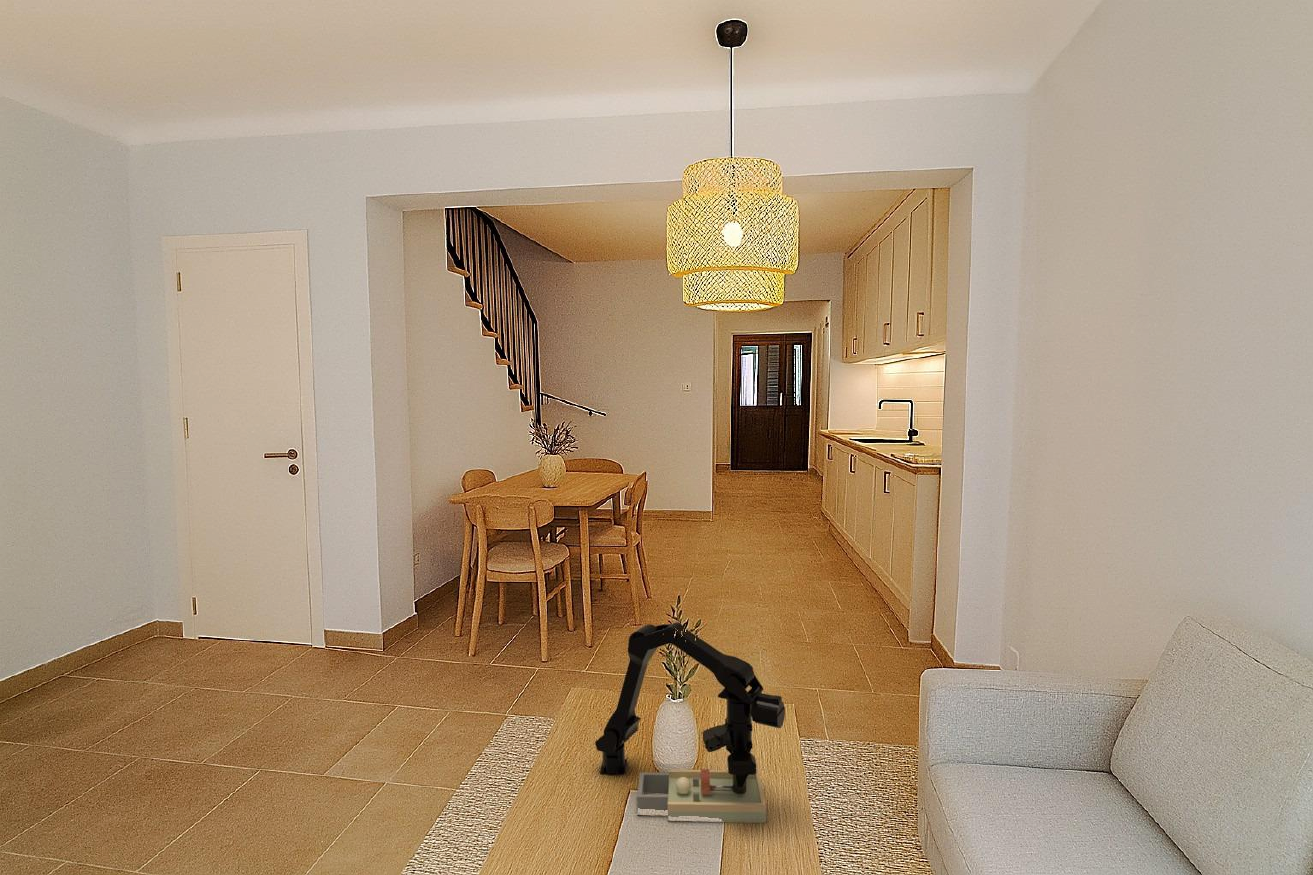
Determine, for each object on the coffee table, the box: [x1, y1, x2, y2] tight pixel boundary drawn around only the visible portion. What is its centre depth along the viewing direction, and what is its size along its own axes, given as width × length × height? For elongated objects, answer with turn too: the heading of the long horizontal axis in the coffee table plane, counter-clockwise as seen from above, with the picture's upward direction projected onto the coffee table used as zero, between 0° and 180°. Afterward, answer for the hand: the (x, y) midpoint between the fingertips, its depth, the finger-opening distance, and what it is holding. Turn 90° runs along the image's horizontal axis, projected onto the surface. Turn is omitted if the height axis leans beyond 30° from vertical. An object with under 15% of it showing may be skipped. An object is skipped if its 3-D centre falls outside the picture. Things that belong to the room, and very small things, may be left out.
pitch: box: [667, 769, 767, 824], centre depth 161 cm, size 14×22×4 cm, turn 88°
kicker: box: [700, 768, 746, 794], centre depth 160 cm, size 4×11×7 cm, turn 88°
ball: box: [676, 777, 691, 794], centre depth 161 cm, size 4×4×4 cm
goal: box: [636, 771, 669, 811], centre depth 161 cm, size 10×7×4 cm
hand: (739, 782), depth 160 cm, fingers closed on kicker, 3 cm apart
